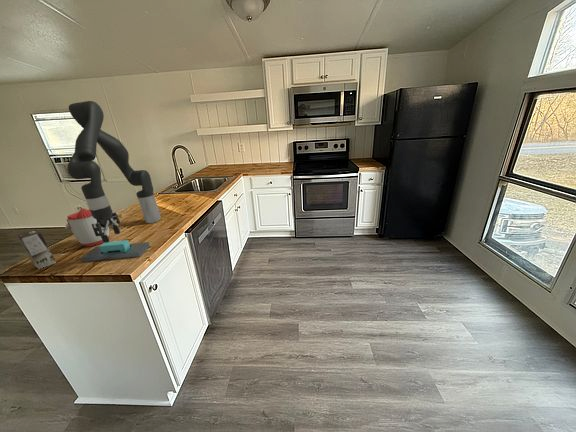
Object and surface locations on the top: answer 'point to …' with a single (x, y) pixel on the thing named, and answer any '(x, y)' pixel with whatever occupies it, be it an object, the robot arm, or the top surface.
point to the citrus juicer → (84, 228)
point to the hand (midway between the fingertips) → (112, 237)
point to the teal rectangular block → (115, 246)
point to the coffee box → (36, 248)
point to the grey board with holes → (116, 253)
